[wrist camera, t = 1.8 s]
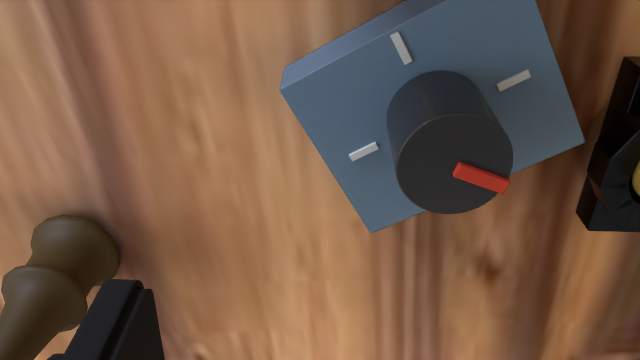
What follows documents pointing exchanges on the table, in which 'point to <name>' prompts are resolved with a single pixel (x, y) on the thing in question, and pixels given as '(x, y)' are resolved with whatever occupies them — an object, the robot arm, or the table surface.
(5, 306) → the kendama
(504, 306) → the table surface
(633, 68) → the lamp base
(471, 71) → the dimmer panel
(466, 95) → the dimmer knob
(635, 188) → the lamp switch
